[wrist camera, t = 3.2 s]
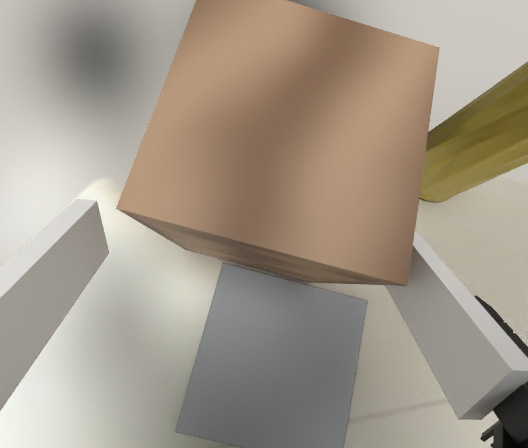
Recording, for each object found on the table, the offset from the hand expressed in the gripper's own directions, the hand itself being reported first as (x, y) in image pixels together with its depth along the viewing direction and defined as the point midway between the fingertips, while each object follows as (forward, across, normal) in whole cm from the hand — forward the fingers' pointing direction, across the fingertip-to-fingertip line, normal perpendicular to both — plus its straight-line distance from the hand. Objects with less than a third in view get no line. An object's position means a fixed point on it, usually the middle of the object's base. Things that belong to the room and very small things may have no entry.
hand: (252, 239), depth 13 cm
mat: (+2, +3, -12) cm, 13 cm away
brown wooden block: (+10, +1, -4) cm, 11 cm away
